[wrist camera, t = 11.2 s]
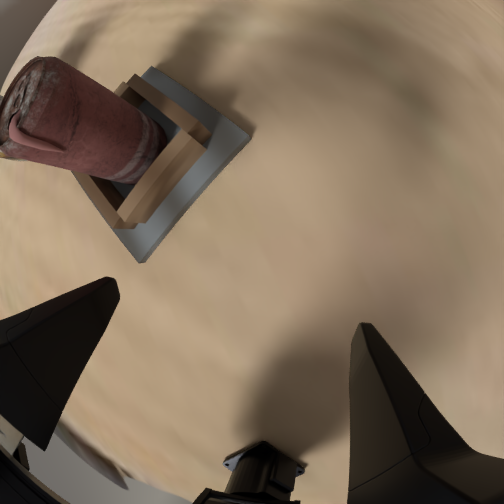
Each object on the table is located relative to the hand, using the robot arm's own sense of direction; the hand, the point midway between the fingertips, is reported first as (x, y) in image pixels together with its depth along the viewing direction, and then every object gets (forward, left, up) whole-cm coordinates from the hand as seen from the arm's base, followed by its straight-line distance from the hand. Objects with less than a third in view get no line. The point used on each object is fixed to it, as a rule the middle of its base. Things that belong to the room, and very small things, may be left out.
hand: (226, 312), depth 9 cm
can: (-1, +15, -11) cm, 19 cm away
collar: (-1, +15, -12) cm, 20 cm away
